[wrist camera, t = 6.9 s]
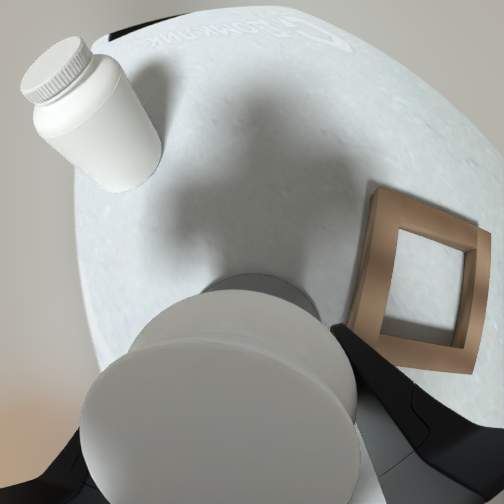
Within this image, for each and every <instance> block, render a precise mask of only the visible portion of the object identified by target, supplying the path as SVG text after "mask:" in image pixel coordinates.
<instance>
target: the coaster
mask: <svg viewBox="0 0 504 504" xmlns="http://www.w3.org/2000/svg"><path fill="white" fill-rule="evenodd" d="M233 289H235V290H248V291H255V292H261V293H265V294H268V295H272V296H275V297H278V298H281V299H283V300H286V301H288V302H290V303H292V304H295V305H296V306H298V307H300V308H302V309H303V310H305V311H307V312H308V313H309V314H311V315H312V316H313V317H315V318H316V319H317V320H318V321H320V320H319V317H318V314H317V312H316V311H315V309H314V307H313V305H312V304H311V303H310V301H309V300H308V299H307V298H306V297H305V296H304V294H303V293H302V292H300V291H299V290H298V289H297V288H295V287H294V286H292V285H291V284H289V283H287V282H286V281H283V280H281V279H279V278H276V277H272V276H269V275H262V274H244V275H238V276H234V277H231V278H228V279H225V280H223V281H221V282H219V283H217V284H216V285H214V286H213V287H211V288H210V289H209V290H207V291H206V292H211V291H218V290H233ZM206 292H205V293H206Z"/></svg>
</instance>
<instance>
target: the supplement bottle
mask: <svg viewBox="0 0 504 504" xmlns="http://www.w3.org/2000/svg"><path fill="white" fill-rule="evenodd" d="M356 413H357V388H356V382H355V377H354V373H353V370H352V367H351V365H350V362H349V359H348V358H347V356H346V354H345V352H344V350H343V348H342V347H341V345H340V344H339V342H338V341H337V339H336V338H335V337H334V336H333V334H332V333H331V332H330V331H329V330H328V329H327V328H326V327H325V326H324V325H323V324H322V323H321V322H320V321H318V320H317V319H316V318H315V317H313V316H312V315H311V314H309V313H308V312H307V311H305V310H303V309H302V308H300V307H298V306H296V305H295V304H292V303H290V302H288V301H286V300H283V299H281V298H278V297H275V296H272V295H268V294H265V293H261V292H255V291H248V290H235V289H233V290H218V291H211V292H206V293H202V294H198V295H195V296H192V297H189V298H186V299H184V300H182V301H180V302H177V303H175V304H174V305H172V306H170V307H169V308H167V309H165V310H164V311H162V312H161V313H160V314H158V315H157V316H156V317H155V318H153V319H152V320H151V321H150V322H149V323H148V324H147V325H146V326H145V327H144V329H143V330H142V331H141V332H140V334H139V335H138V336H137V337H136V339H135V341H134V342H133V344H132V346H131V347H130V349H129V351H128V353H127V354H125V355H123V356H122V357H120V358H119V359H117V360H116V361H114V362H113V363H111V364H110V365H109V366H108V367H107V368H106V369H105V370H104V371H103V372H102V373H101V374H100V375H99V376H98V378H97V379H96V380H95V382H94V383H93V385H92V386H91V388H90V390H89V392H88V394H87V396H86V398H85V402H84V404H83V407H82V410H81V416H80V442H81V448H82V453H83V456H84V459H85V462H86V464H87V467H88V470H89V472H90V475H91V477H92V478H93V480H94V482H95V483H96V485H97V487H98V488H99V490H100V491H101V492H102V494H103V495H104V496H105V498H106V499H107V500H108V501H109V502H110V503H111V504H348V502H349V500H350V498H351V496H352V494H353V492H354V489H355V487H356V484H357V481H358V476H359V470H360V448H359V441H358V437H357V433H356V430H355V428H354V424H355V420H356Z"/></svg>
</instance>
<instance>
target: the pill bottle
mask: <svg viewBox="0 0 504 504" xmlns="http://www.w3.org/2000/svg"><path fill="white" fill-rule="evenodd" d="M20 89H21V92H22V94H24V96H25V97H26V98H27V99H28V100H29V101H30V102H31V103H34V104H35V108H34V113H33V122H34V125H35V128H36V130H37V132H38V134H39V135H40V136H41V137H42V138H43V139H44V140H45V141H47V142H48V143H49V144H50V145H51V146H52V147H53V148H54V149H56V150H57V151H58V152H59V153H60V154H61V155H63V156H64V157H65V158H66V159H67V160H68V161H69V162H71V163H72V164H73V165H74V166H75V167H76V168H78V169H79V170H80V171H81V172H82V173H83V174H85V175H86V176H87V177H88V178H89V179H91V180H92V181H93V182H94V183H95V184H97V185H98V186H99V187H100V188H102V189H104V190H106V191H108V192H112V193H123V192H127V191H130V190H133V189H135V188H137V187H138V186H140V185H141V184H143V183H144V182H145V181H146V180H147V179H148V178H149V177H150V176H151V175H152V174H153V172H154V171H155V169H156V167H157V166H158V163H159V161H160V158H161V152H162V146H161V141H160V138H159V135H158V133H157V131H156V130H155V128H154V126H153V124H152V122H151V121H150V119H149V117H148V115H147V113H146V112H145V110H144V108H143V106H142V104H141V102H140V101H139V99H138V97H137V95H136V93H135V91H134V90H133V88H132V86H131V84H130V82H129V80H128V78H127V77H126V75H125V73H124V71H123V69H122V67H121V66H120V64H119V63H118V62H117V61H116V60H115V59H113V58H112V57H110V56H108V55H103V54H95V55H93V53H92V52H91V51H90V50H89V49H88V47H87V46H86V44H85V42H84V40H83V39H82V38H81V37H77V36H74V37H69V38H66V39H64V40H62V41H60V42H58V43H57V44H55V45H53V46H52V47H51V48H49V49H48V50H47V51H45V52H44V53H43V54H42V55H41V56H40V57H39V58H38V59H37V60H36V61H35V62H34V63H33V64H32V65H31V67H30V68H29V69H28V71H27V72H26V74H25V75H24V77H23V79H22V82H21V86H20Z"/></svg>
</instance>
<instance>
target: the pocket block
mask: <svg viewBox="0 0 504 504" xmlns="http://www.w3.org/2000/svg"><path fill="white" fill-rule="evenodd" d="M399 229H402V230H405V231H408V232H411V233H414V234H417V235H420V236H422V237H425V238H428V239H431V240H434V241H436V242H439V243H442V244H444V245H447V246H450V247H452V248H455V249H457V250H460V251H462V252H465V253H466V254H465V268H464V278H463V287H462V294H461V301H460V308H459V314H458V319H457V325H456V330H455V334H454V339H453V343H452V347H448V346H442V345H436V344H430V343H425V342H419V341H414V340H409V339H404V338H399V337H394V336H389V335H384V334H380V330H381V326H382V322H383V317H384V313H385V308H386V304H387V299H388V294H389V289H390V284H391V278H392V273H393V267H394V260H395V254H396V247H397V239H398V231H399ZM490 263H491V233H489V232H487V231H485V230H483V229H481V228H479V227H477V226H475V225H473V224H471V223H468V222H466V221H464V220H462V219H460V218H457V217H455V216H453V215H450V214H448V213H446V212H443V211H441V210H439V209H436V208H434V207H431V206H429V205H426V204H424V203H421V202H419V201H416V200H413V199H411V198H408V197H406V196H403V195H400V194H397V193H395V192H392V191H389V190H386V189H383V188H380V187H379V188H378V189H377V190H376V191H375V192H374V194H373V195H372V196H371V203H370V210H369V217H368V224H367V230H366V237H365V243H364V248H363V254H362V259H361V264H360V269H359V274H358V279H357V284H356V288H355V293H354V297H353V301H352V306H351V310H350V314H349V318H348V322H347V327H348V328H349V329H351V330H352V331H353V332H354V333H355V334H357V335H358V336H359V337H360V338H361V339H363V340H364V341H365V342H366V343H367V344H369V345H370V346H371V347H372V348H373V349H375V350H376V351H377V352H378V353H379V354H381V355H382V356H383V357H384V358H386V359H387V360H388V361H389V362H390V363H392V364H393V365H395V366H401V367H408V368H415V369H423V370H431V371H440V372H449V373H460V374H472V373H473V370H474V366H475V362H476V358H477V354H478V350H479V345H480V341H481V336H482V331H483V325H484V319H485V313H486V306H487V298H488V289H489V278H490Z"/></svg>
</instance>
